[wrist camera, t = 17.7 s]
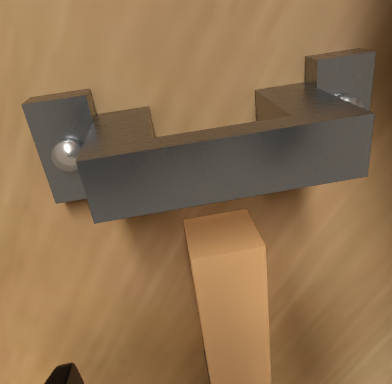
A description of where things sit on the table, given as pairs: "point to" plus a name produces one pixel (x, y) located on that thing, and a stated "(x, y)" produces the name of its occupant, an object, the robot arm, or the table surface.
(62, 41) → the table surface
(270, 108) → the mounting bracket
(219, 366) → the tan bar
